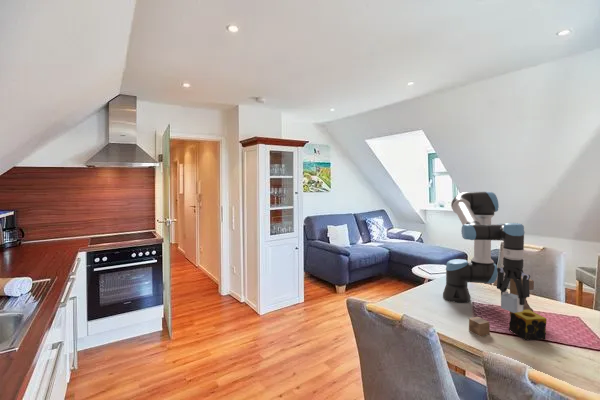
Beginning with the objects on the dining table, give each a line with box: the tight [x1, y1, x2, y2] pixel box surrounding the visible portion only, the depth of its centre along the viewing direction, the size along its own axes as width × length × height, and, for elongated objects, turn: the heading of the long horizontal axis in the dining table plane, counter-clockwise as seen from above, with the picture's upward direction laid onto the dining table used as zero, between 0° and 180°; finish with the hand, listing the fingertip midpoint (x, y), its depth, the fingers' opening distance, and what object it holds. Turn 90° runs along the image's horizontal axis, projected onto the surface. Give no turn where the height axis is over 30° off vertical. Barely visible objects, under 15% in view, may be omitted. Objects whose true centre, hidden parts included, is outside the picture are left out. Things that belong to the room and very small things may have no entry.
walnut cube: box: [468, 316, 491, 337], centre depth 148 cm, size 6×6×6 cm
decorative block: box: [509, 276, 535, 312], centre depth 166 cm, size 11×6×20 cm, turn 177°
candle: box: [508, 310, 547, 341], centre depth 145 cm, size 10×10×10 cm
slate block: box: [500, 292, 519, 313], centre depth 141 cm, size 6×6×6 cm
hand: (512, 308), depth 141 cm, fingers closed on slate block, 6 cm apart
